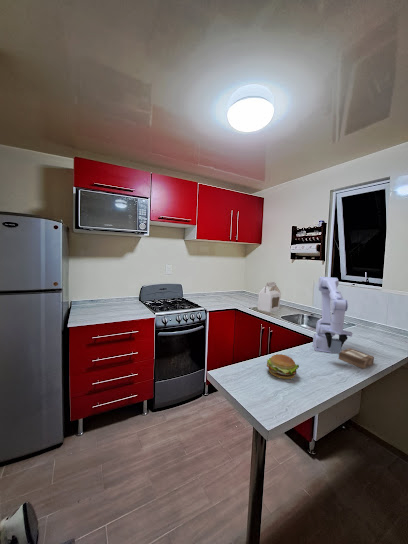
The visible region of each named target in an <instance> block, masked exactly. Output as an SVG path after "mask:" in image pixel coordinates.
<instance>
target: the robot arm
mask: <svg viewBox="0 0 408 544" xmlns="http://www.w3.org/2000/svg"><path fill="white" fill-rule="evenodd" d="M339 283H340V282H339V279H338V277H331V276H321V275H320V276H319V279H318V291H319V292H320V293H321V318H320V319H318V320H317V321H316V325H315V332H316V333H314V334H313V338H312V339H313V340H312V347H313V349H314V350H315V351H316V352H324V353H329V354H333V352H330V351H329V349H328V347H329V348H330V346H331V339H332V338H334V336H336V335H338V339H339V340H340V341H341V342H342V344H341V349H342V347H343V345H344V343H345V342H346V341H347V340H348V338H349V337H350V338H351V337H353V332H351V331H347V330H344V323H345V316H346V315H345V313H346V312H347V311H348V307H349V304H348V300H347V299H345V298H344V297H343V294H342V292H341V291H339V290H338V287H339Z"/></svg>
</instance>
